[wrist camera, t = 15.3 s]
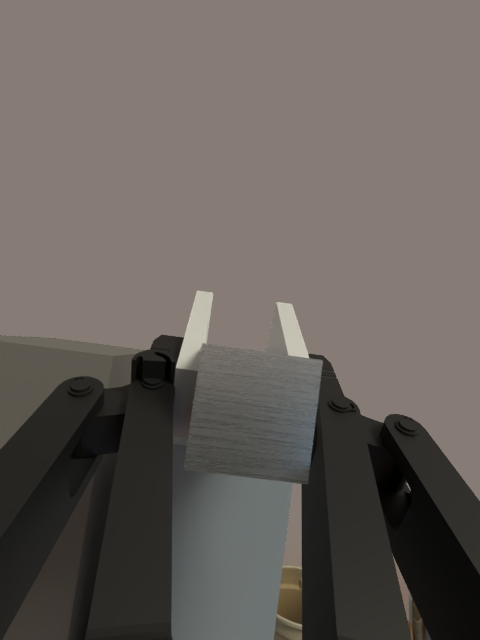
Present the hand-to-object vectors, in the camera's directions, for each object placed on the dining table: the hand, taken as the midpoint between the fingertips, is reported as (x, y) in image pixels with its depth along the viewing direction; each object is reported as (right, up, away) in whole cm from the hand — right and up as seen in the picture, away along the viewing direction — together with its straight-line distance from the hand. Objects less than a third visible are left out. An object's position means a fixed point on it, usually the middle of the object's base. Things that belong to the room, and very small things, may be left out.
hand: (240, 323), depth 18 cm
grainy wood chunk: (-1, -4, +2) cm, 5 cm away
